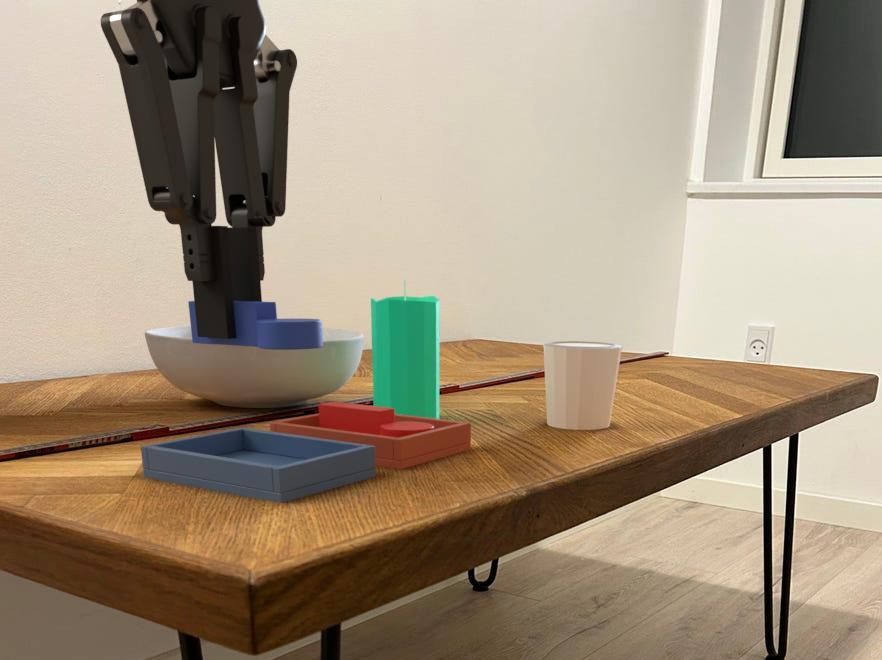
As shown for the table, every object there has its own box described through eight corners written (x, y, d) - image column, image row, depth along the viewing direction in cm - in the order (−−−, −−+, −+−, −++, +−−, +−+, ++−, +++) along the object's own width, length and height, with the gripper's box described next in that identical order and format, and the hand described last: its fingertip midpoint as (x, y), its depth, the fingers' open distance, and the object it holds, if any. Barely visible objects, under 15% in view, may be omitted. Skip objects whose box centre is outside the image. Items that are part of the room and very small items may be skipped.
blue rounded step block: (179, 344, 61) (174, 301, 60) (224, 340, 64) (221, 299, 63) (293, 350, 56) (289, 304, 55) (336, 346, 59) (334, 302, 58)
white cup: (599, 434, 81) (604, 348, 78) (527, 426, 84) (530, 344, 81) (627, 423, 86) (633, 343, 84) (559, 416, 89) (563, 339, 87)
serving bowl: (266, 426, 82) (260, 343, 79) (106, 405, 92) (97, 330, 89) (406, 399, 98) (405, 330, 96) (258, 384, 108) (254, 321, 106)
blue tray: (143, 477, 62) (140, 445, 62) (244, 455, 70) (242, 427, 69) (281, 503, 56) (279, 468, 56) (376, 476, 64) (375, 445, 63)
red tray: (271, 450, 72) (269, 422, 71) (348, 433, 79) (347, 408, 78) (400, 469, 66) (400, 439, 65) (470, 449, 73) (471, 422, 72)
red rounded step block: (310, 439, 73) (308, 405, 72) (343, 432, 76) (342, 399, 75) (413, 454, 68) (413, 417, 67) (444, 446, 71) (444, 411, 70)
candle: (416, 412, 90) (415, 278, 86) (452, 421, 86) (453, 280, 81) (361, 417, 87) (357, 278, 82) (396, 427, 82) (393, 280, 78)
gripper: (130, -173, 45) (183, 346, 53) (333, -81, 56) (349, 333, 65) (31, -141, 48) (96, 340, 57) (241, -61, 60) (268, 328, 69)
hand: (231, 335), depth 61 cm, fingers closed on blue rounded step block, 2 cm apart
